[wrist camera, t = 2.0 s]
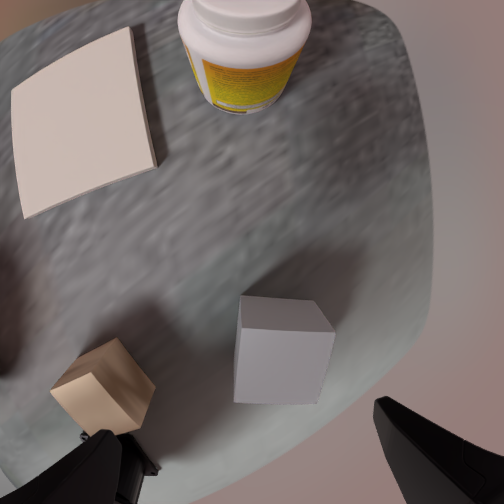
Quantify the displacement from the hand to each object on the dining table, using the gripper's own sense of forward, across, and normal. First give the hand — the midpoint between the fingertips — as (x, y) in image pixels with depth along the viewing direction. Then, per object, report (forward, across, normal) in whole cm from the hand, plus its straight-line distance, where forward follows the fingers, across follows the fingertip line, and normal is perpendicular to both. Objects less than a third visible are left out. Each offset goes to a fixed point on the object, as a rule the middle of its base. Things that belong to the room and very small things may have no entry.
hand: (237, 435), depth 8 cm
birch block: (+11, +11, +5) cm, 17 cm away
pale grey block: (+12, -2, +3) cm, 12 cm away
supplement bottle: (+12, -3, -14) cm, 19 cm away
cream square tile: (+12, +9, -14) cm, 21 cm away
